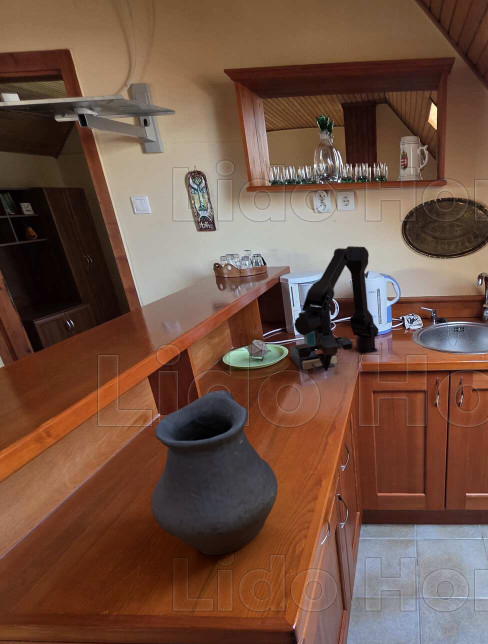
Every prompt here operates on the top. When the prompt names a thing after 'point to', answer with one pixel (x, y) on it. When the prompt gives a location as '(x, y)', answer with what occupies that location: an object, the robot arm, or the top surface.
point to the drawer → (317, 363)
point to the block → (309, 339)
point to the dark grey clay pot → (212, 477)
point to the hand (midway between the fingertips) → (326, 370)
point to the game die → (257, 348)
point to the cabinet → (299, 360)
